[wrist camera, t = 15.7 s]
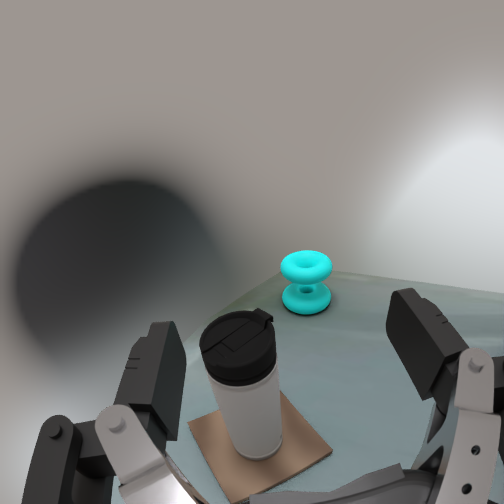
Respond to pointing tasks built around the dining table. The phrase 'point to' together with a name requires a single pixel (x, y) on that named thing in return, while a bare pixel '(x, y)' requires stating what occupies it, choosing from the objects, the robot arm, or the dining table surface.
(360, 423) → the dining table surface
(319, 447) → the walnut board
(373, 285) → the dining table surface
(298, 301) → the cyan spool
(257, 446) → the travel mug
